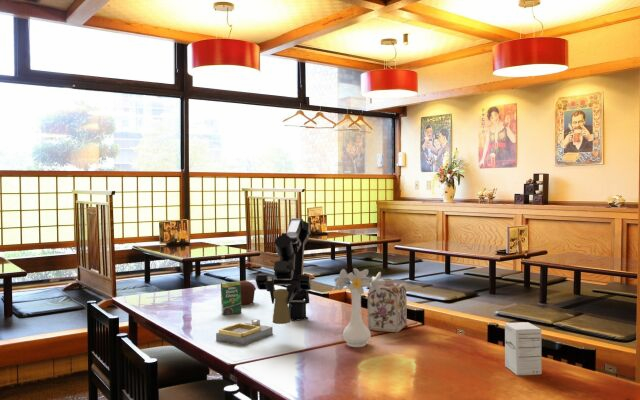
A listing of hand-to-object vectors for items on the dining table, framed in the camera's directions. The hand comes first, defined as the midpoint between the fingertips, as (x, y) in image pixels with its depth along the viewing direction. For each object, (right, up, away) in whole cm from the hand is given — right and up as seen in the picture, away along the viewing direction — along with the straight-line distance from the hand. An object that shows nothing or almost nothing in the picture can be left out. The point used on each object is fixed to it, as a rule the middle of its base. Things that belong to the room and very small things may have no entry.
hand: (280, 303), depth 177 cm
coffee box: (-24, -13, +43) cm, 51 cm away
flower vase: (+26, -13, -3) cm, 29 cm away
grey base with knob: (-13, -13, +7) cm, 20 cm away
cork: (0, -7, +2) cm, 7 cm away
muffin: (-22, -13, +63) cm, 68 cm away
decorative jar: (+38, -13, +17) cm, 44 cm away
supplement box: (+70, -13, -30) cm, 77 cm away
